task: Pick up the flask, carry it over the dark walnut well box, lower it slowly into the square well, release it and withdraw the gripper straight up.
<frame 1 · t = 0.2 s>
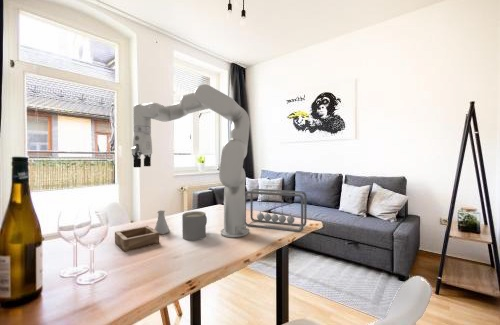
hand: (142, 166, 115), 30 cm above the table, tool pointing down, fingers open, 9 cm apart
coffee mug: (197, 235, 108), on the table
newton's cradle: (274, 226, 122), on the table
walnut well: (137, 243, 98), on the table
flask: (161, 232, 112), on the table
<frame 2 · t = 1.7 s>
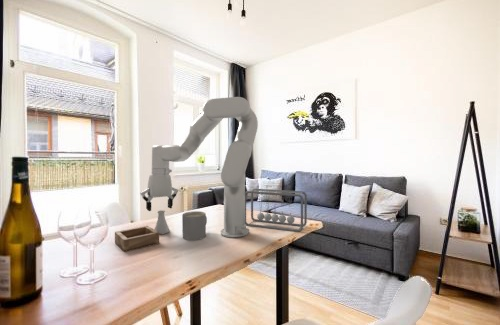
hand: (159, 209, 112), 11 cm above the table, tool pointing down, fingers open, 9 cm apart
nothing on the table moved.
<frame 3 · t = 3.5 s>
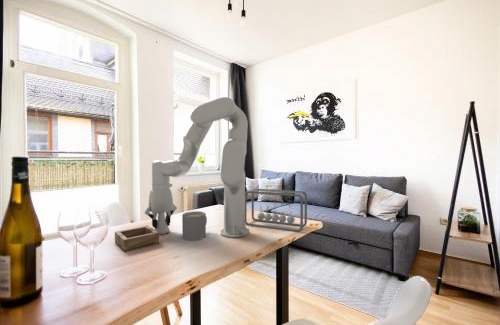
hand: (161, 225, 112), 3 cm above the table, tool pointing down, fingers closed on flask, 5 cm apart
flask: (161, 232, 112), on the table, touching gripper
everything else where it was.
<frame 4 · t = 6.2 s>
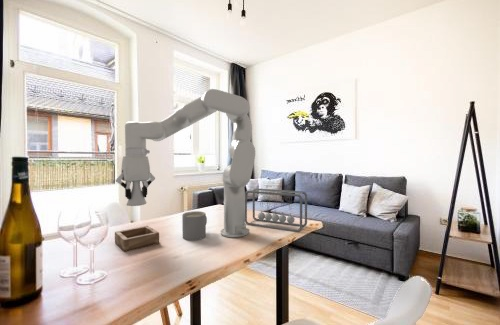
hand: (136, 197, 98), 19 cm above the table, tool pointing down, fingers closed on flask, 5 cm apart
flask: (136, 205, 98), point 15 cm above the table, touching gripper
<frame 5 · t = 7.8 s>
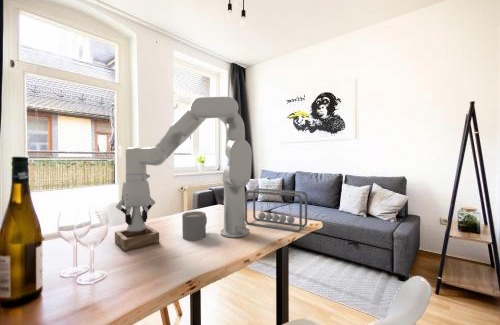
hand: (136, 222, 98), 9 cm above the table, tool pointing down, fingers closed on flask, 5 cm apart
flask: (136, 230, 98), point 5 cm above the table, touching gripper
when the fingers open (6 cm above the table, at t = 9.2 s): flask drops 2 cm, resting on walnut well.
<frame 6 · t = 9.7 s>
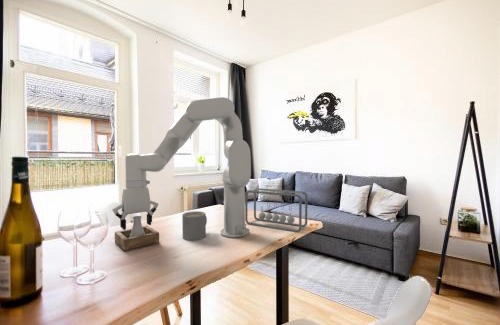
hand: (136, 226, 98), 7 cm above the table, tool pointing down, fingers open, 9 cm apart
flask: (137, 241, 98), point 1 cm above the table, touching walnut well
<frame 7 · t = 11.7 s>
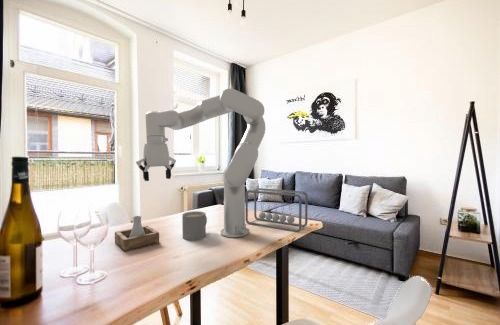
hand: (157, 179, 106), 25 cm above the table, tool pointing down, fingers open, 9 cm apart
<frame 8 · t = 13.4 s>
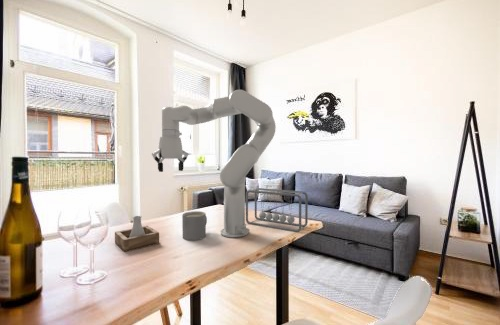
hand: (171, 171, 113), 28 cm above the table, tool pointing down, fingers open, 9 cm apart
at the end: flask 0.2 cm off-centre on the walnut well, point 0.6 cm above the walnut well's base; flask tilted 0°; the gripper is holding nothing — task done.
